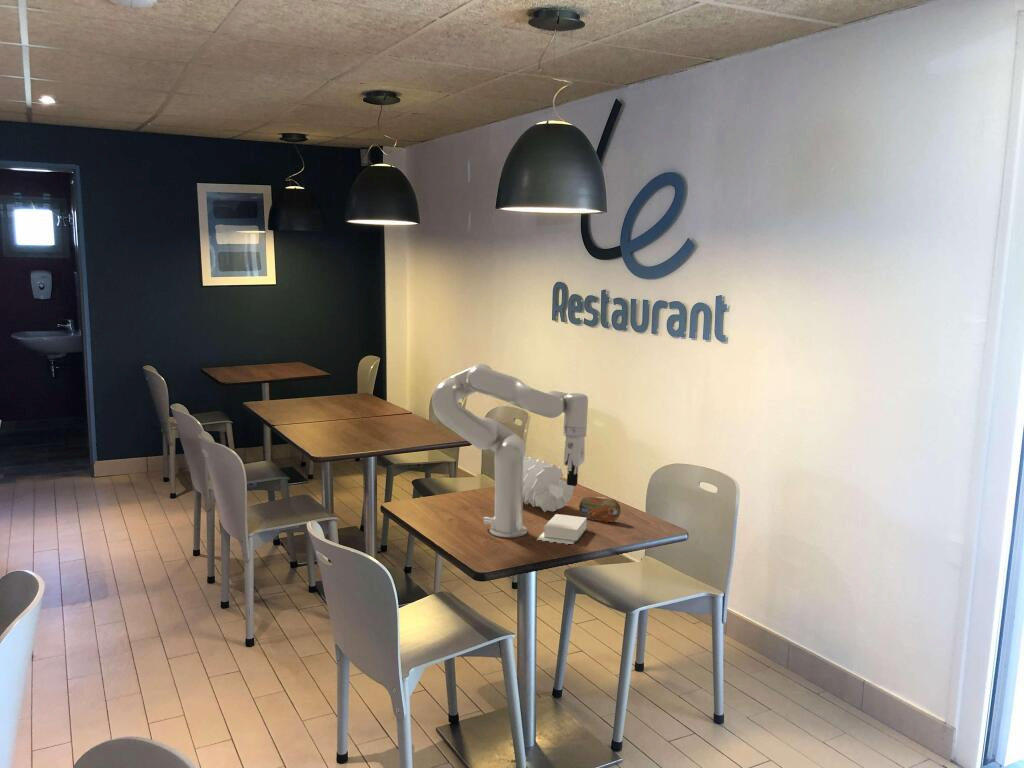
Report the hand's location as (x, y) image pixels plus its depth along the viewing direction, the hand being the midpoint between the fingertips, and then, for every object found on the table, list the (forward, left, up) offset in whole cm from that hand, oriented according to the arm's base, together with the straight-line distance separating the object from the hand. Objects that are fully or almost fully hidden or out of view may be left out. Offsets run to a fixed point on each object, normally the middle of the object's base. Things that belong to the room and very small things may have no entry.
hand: (572, 484), depth 269 cm
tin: (+6, +20, -18) cm, 27 cm away
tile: (+4, 0, -15) cm, 15 cm away
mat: (-3, 0, -17) cm, 18 cm away
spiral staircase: (-21, +28, -18) cm, 39 cm away
